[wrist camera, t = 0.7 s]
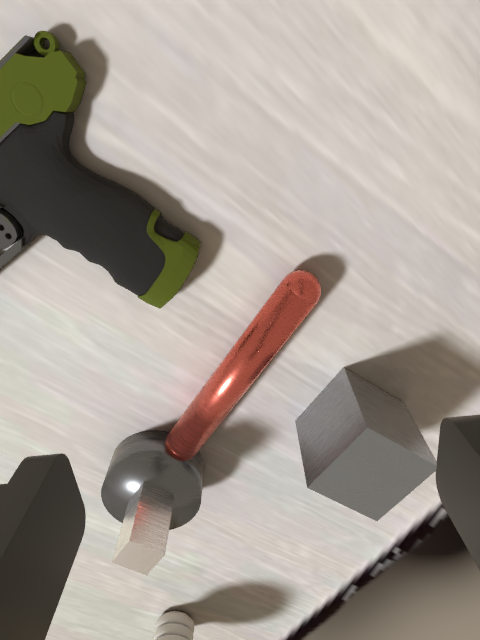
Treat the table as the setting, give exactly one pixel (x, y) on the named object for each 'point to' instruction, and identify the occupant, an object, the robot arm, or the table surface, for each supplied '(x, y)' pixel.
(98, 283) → the table surface
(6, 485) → the robot arm
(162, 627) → the light bulb
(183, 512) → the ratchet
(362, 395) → the grey bevelled cube
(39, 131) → the gun
